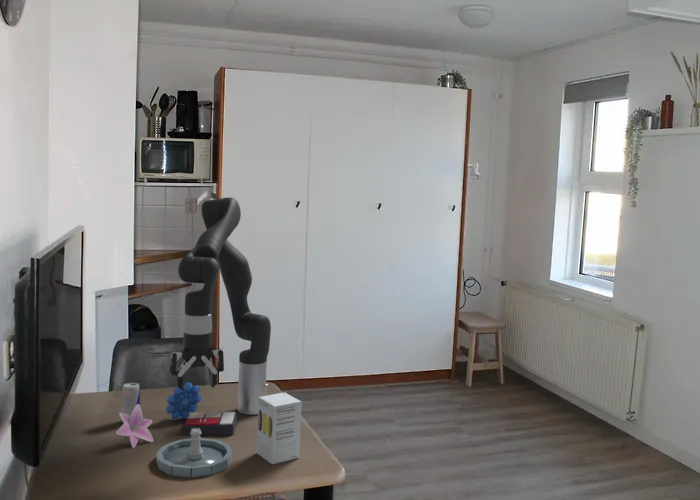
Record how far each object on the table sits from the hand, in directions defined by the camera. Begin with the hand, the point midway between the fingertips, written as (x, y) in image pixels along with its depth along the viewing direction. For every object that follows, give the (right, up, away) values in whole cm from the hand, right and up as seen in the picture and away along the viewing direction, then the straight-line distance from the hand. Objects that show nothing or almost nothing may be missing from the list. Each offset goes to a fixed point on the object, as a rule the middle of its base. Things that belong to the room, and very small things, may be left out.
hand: (196, 388), depth 183 cm
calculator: (-2, -19, +27) cm, 33 cm away
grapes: (-12, -17, +34) cm, 40 cm away
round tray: (-1, -21, +2) cm, 21 cm away
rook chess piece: (-1, -20, +2) cm, 20 cm away
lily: (-21, -19, +13) cm, 32 cm away
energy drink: (-27, -17, +29) cm, 43 cm away
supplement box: (+21, -21, +8) cm, 31 cm away
